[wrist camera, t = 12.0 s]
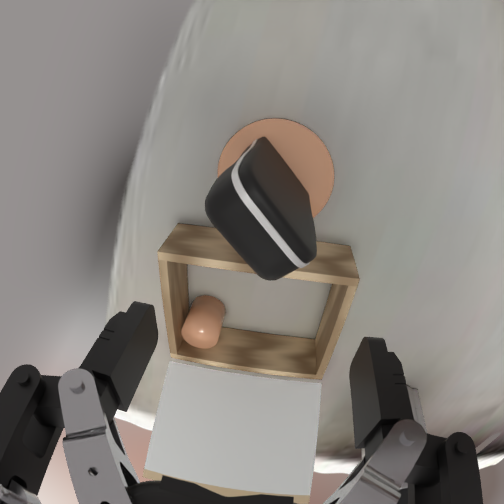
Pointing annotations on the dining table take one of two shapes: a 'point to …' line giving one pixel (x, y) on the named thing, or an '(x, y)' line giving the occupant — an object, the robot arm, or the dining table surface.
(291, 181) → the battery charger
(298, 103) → the dining table surface
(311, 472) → the lid
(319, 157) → the saucer
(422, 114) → the dining table surface
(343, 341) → the dining table surface
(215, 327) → the peach rounded capsule
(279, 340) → the wooden box
